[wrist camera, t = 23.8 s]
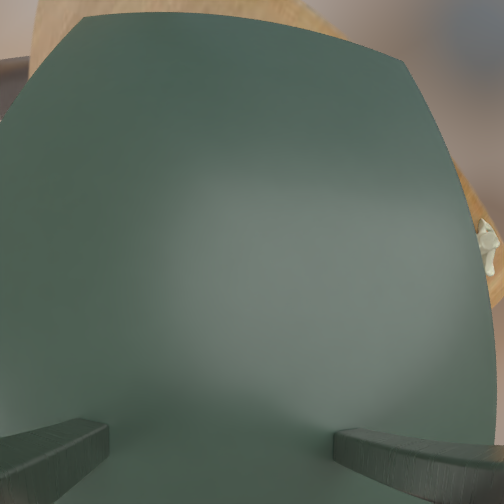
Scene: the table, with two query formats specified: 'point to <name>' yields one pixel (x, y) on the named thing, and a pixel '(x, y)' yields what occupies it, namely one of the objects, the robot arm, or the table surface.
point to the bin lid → (237, 276)
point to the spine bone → (487, 245)
